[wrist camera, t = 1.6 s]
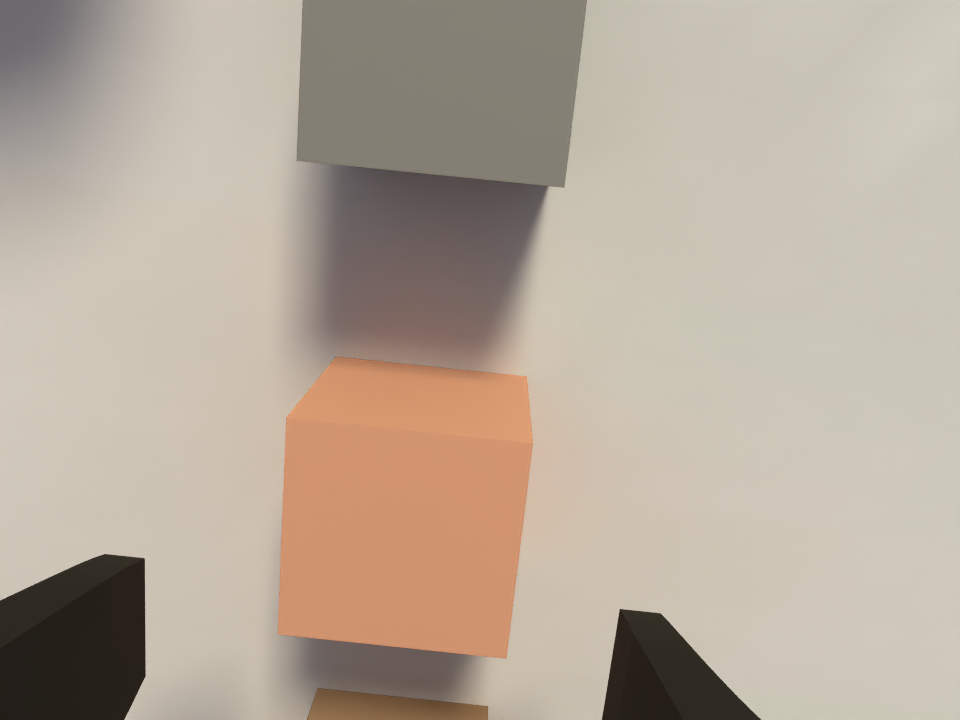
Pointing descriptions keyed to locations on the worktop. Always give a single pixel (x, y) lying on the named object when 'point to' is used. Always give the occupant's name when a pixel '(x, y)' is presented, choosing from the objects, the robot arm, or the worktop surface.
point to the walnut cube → (388, 708)
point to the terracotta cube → (405, 507)
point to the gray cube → (441, 86)
